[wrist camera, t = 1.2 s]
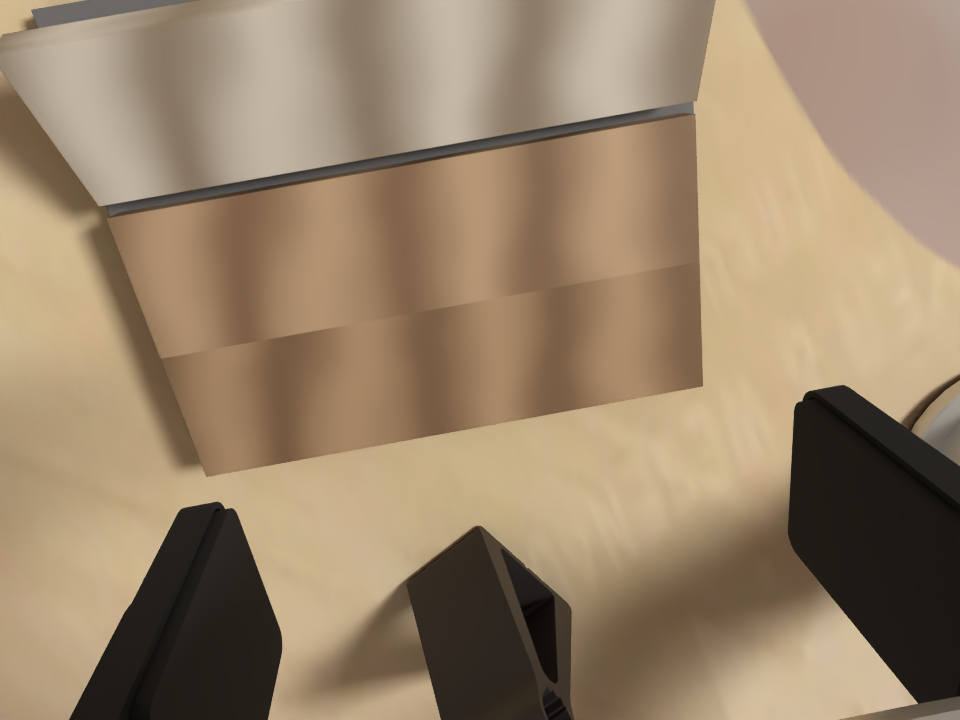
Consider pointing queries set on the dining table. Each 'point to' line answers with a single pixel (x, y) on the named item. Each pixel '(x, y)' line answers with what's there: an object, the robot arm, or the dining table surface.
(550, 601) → the phone stand
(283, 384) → the floor panel
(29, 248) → the dining table surface
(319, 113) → the loose plank
